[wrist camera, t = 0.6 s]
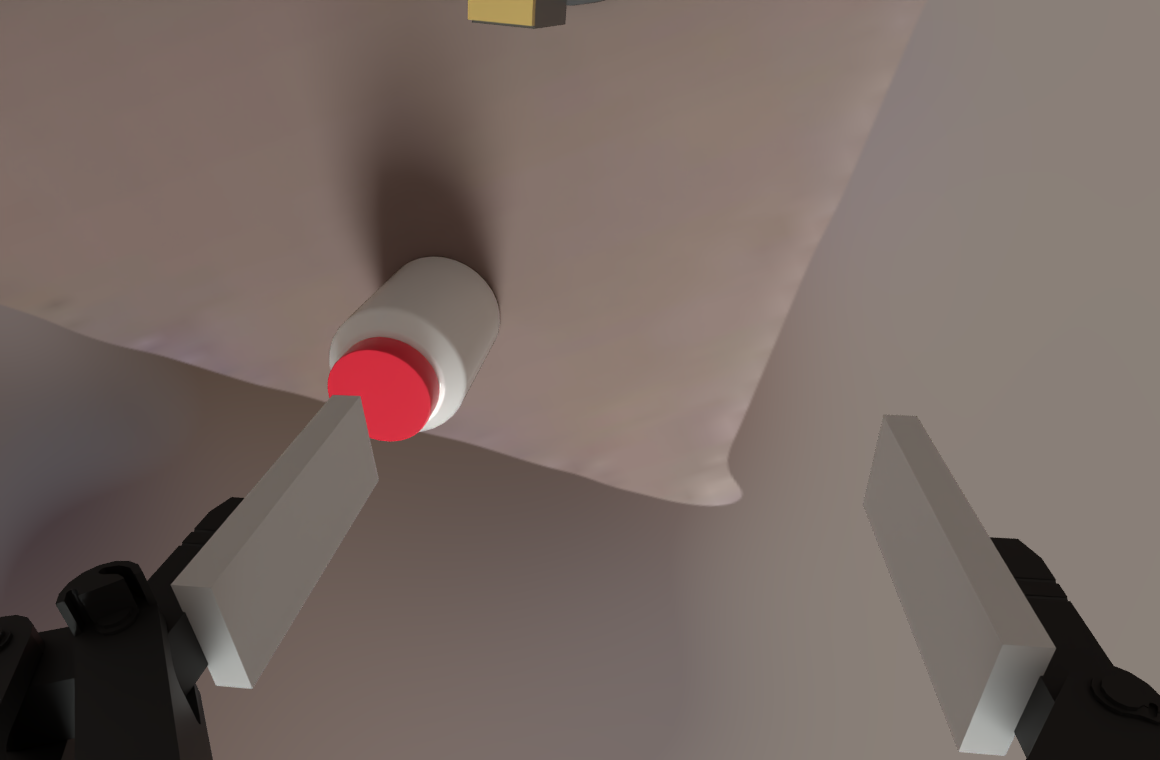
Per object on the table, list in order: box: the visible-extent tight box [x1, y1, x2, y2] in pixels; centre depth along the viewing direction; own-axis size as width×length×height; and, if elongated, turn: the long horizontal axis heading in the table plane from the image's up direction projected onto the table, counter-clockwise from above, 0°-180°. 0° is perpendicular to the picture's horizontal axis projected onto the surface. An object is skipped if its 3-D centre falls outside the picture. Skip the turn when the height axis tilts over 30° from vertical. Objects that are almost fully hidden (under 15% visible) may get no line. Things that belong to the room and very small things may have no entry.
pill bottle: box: [328, 256, 500, 441], centre depth 39 cm, size 8×8×11 cm
